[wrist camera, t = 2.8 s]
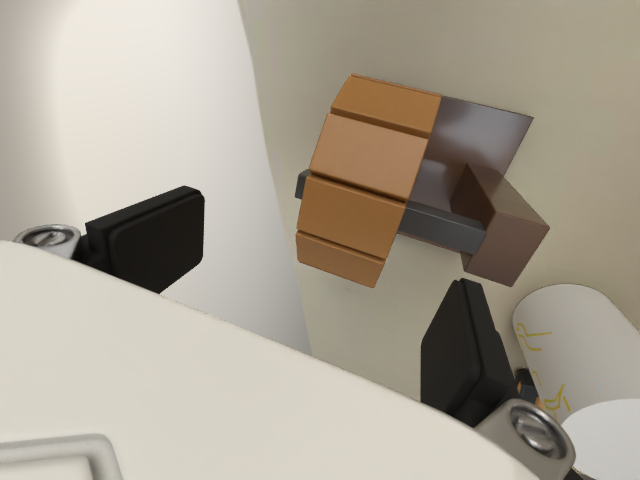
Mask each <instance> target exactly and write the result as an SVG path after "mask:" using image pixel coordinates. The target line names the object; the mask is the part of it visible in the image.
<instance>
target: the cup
mask: <svg viewBox="0 0 640 480" xmlns="http://www.w3.org/2000/svg"><path fill="white" fill-rule="evenodd" d="M512 323H513V328H514V330H515V333H516V336H517V338H518V341H519V344H520V347H521V349H522V352H523V355H524V357H525V360H526V363H527V365H528V368H529V371H530V373H531V376H532V379H533V381H534V384H535V387H536V389H537V392H538V395H539V397H540V400H541V403H542V405H543V408H544V411H545V412H547V413H548V414H549V415H551V416H552V417H553V418H554V419H555V420H556V421H557V422H558V423H559V424H560V425H561V426H562V428H563V429H564V430H565V432H566V433H567V434H568V436H569V437H570V439H571V441H572V443H573V445H574V448H575V453H576V459H575V463H574V465H573V467H575V468H576V469H577V470H579V471H580V472H582V473H584V474H586V475H588V476H590V477H592V478H594V479H597V480H640V333H639V332H638V331H637V330H636V329H635V328H634V327H633V326H632V324H631V323H630V322H629V321H628V320H627V319H626V318H625V317H624V315H623V314H622V313H621V312H620V311H619V310H618V309H617V307H616V306H615V305H614V304H613V303H612V302H611V301H610V300H609V299H608V298H607V297H606V296H605V295H604V294H602V293H600V292H599V291H597V290H595V289H592V288H589V287H586V286H582V285H575V284H558V285H552V286H547V287H544V288H541V289H538V290H536V291H534V292H532V293H530V294H529V295H527V296H526V297H525V298H524V299H522V300H521V301H520V303H519V304H518V305H517V307H516V308H515V310H514V313H513V318H512Z"/></svg>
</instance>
